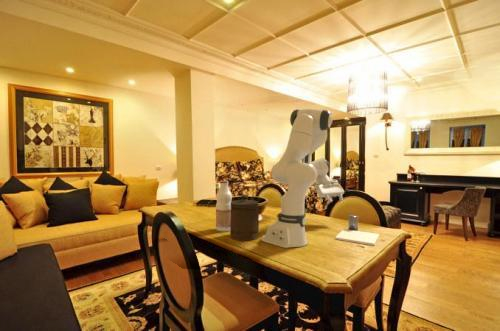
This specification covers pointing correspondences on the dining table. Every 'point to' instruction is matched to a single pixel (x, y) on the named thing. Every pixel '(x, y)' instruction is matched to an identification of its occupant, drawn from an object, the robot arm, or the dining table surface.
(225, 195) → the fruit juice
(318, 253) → the dining table surface
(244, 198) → the wooden container
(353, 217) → the steel tin
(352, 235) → the cream board
